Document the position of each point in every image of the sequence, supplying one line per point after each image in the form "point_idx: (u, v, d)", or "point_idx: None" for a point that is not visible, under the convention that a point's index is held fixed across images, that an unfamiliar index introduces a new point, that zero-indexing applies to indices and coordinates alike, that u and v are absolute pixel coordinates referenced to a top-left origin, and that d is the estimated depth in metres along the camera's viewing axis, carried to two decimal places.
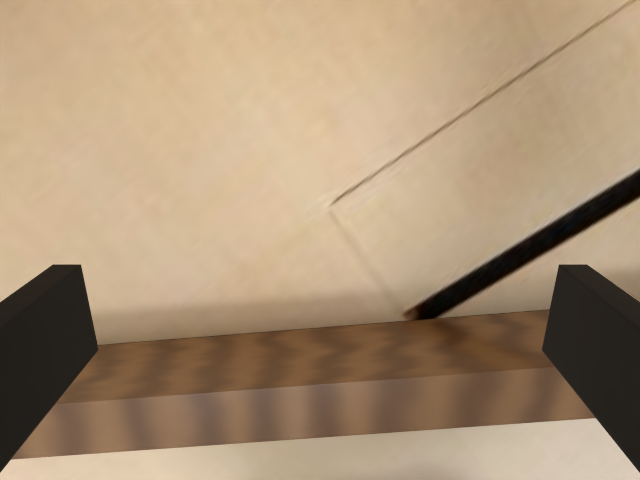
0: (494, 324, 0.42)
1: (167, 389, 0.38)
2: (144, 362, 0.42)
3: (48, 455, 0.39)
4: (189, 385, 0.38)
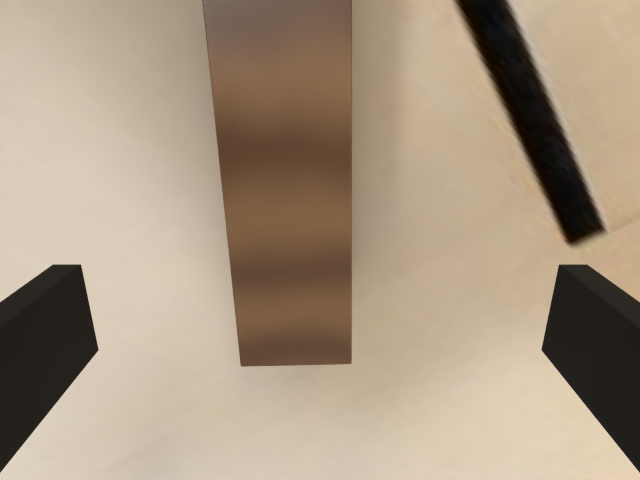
0: None
1: None
2: None
3: None
4: None
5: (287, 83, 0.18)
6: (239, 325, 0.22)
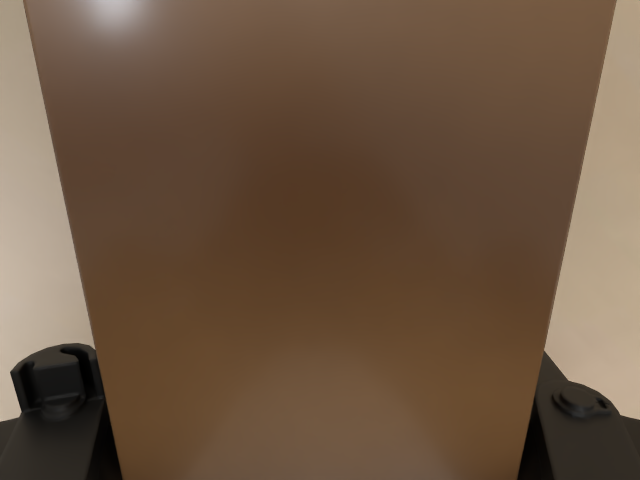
0: None
1: None
2: None
3: None
4: None
5: None
6: None
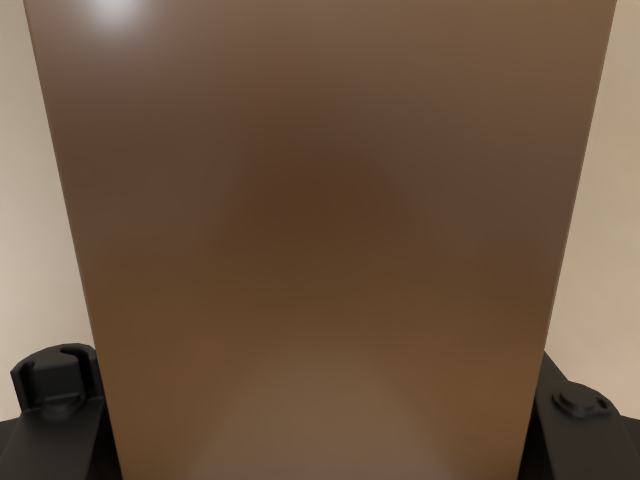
0: None
1: None
2: None
3: None
4: None
5: None
6: None
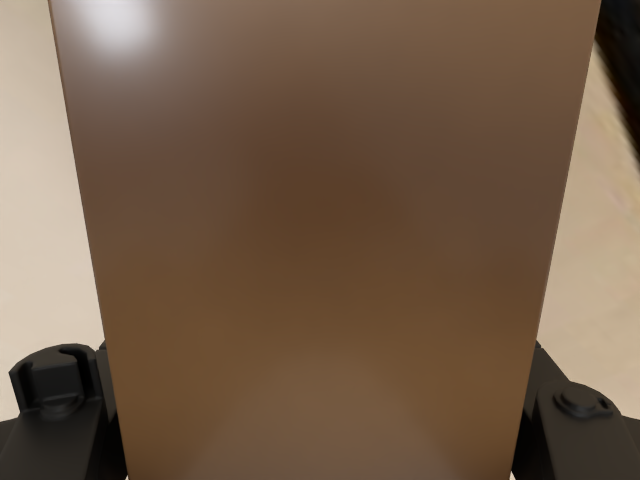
0: None
1: None
2: None
3: None
4: None
5: None
6: None
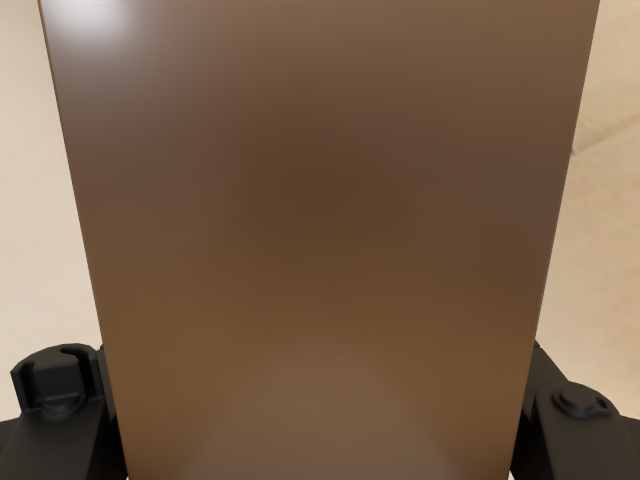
0: None
1: None
2: None
3: None
4: None
5: None
6: None
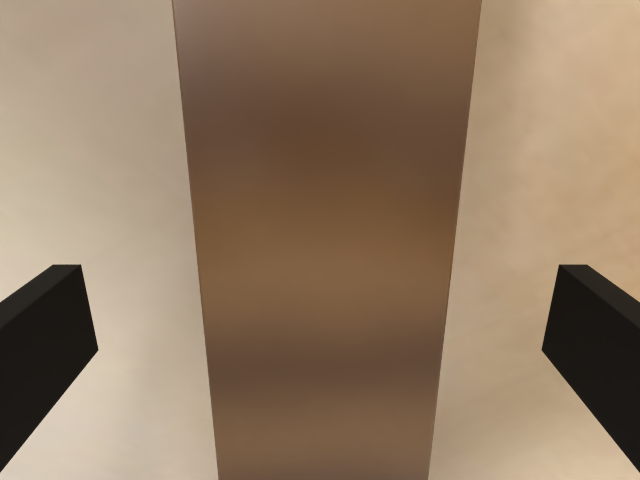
0: None
1: None
2: None
3: None
4: None
5: None
6: (222, 456, 0.12)
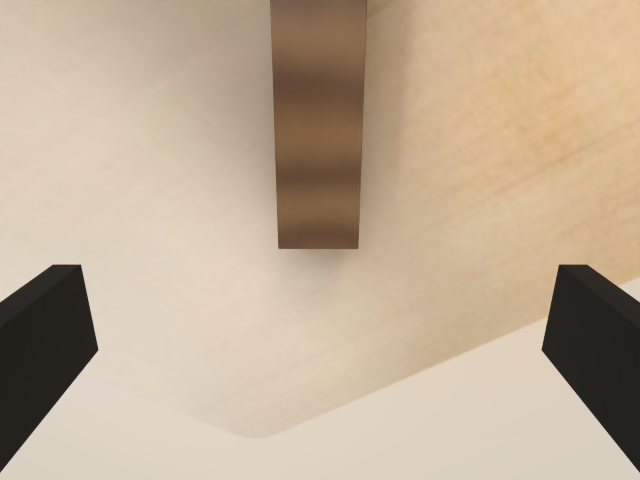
0: None
1: None
2: None
3: None
4: None
5: (322, 39, 0.26)
6: (279, 216, 0.30)
